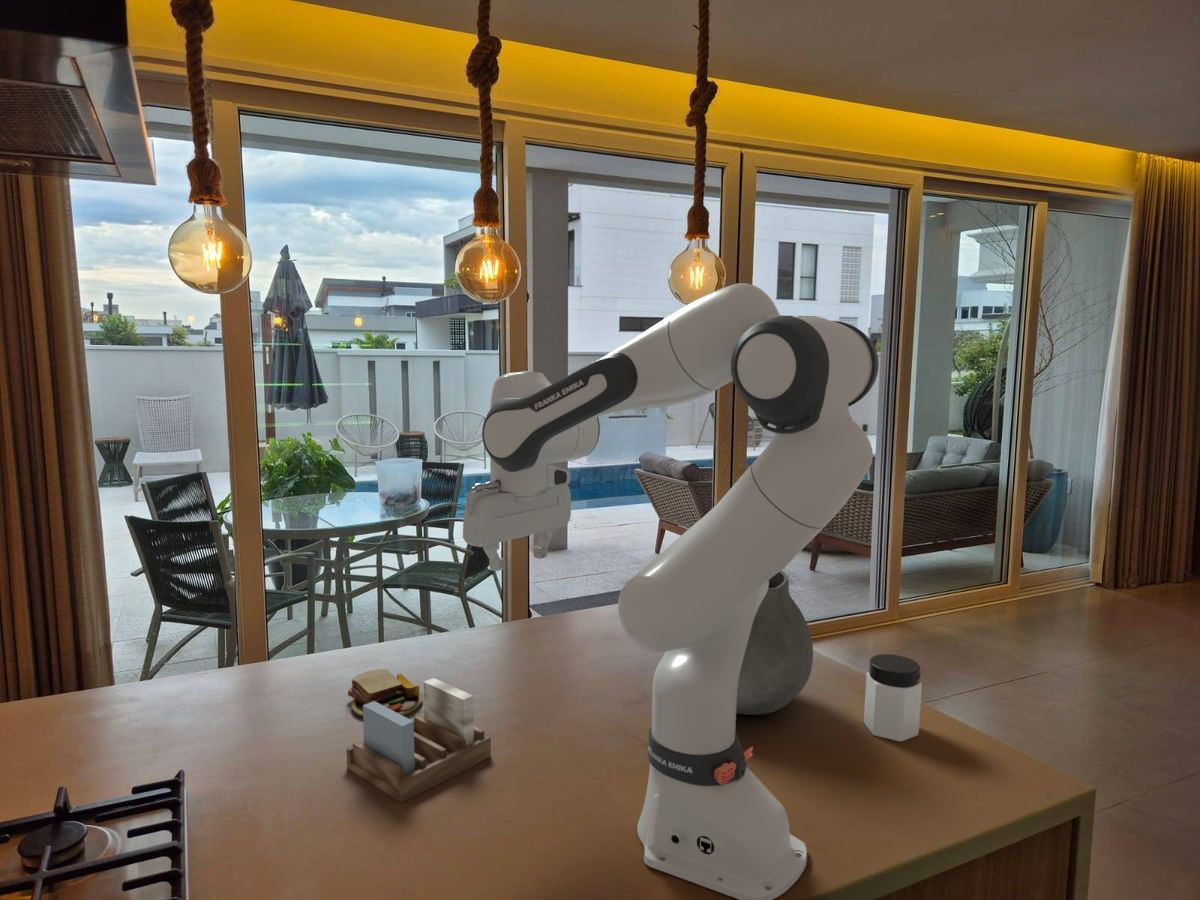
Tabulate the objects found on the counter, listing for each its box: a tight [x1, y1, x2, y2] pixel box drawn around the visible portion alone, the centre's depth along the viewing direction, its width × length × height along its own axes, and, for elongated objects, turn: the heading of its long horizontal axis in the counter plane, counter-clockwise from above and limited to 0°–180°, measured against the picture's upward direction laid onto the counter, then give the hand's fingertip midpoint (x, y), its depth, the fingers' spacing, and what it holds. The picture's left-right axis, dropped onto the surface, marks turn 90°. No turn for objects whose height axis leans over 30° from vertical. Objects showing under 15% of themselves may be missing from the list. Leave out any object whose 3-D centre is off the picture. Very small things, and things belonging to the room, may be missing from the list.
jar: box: [863, 653, 923, 743], centre depth 135 cm, size 9×8×12 cm
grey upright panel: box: [362, 701, 415, 776], centre depth 118 cm, size 10×2×9 cm, turn 50°
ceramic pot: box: [736, 570, 814, 716], centre depth 142 cm, size 24×24×25 cm
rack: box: [346, 677, 492, 803], centre depth 122 cm, size 14×17×10 cm
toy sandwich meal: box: [347, 668, 424, 718], centre depth 142 cm, size 12×14×5 cm
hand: (519, 563), depth 123 cm, fingers open, 8 cm apart
